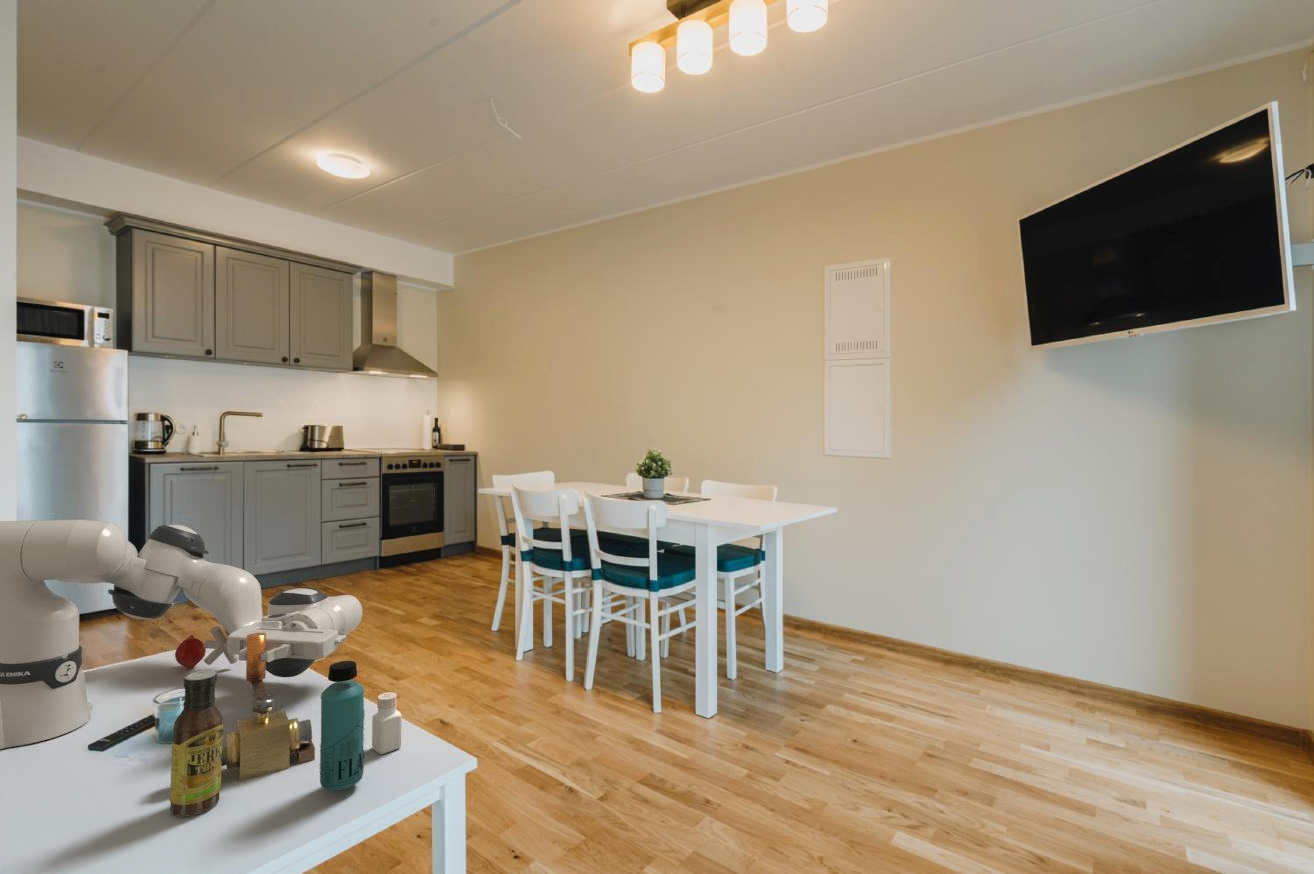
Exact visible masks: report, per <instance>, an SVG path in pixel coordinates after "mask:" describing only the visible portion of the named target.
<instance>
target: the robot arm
mask: <svg viewBox="0 0 1314 874" xmlns="http://www.w3.org/2000/svg"><path fill="white" fill-rule="evenodd" d="M125 535H126V534H125V533H124V532H123V530H122V529H121V528H120V527H119V526H118V525H117V524H115V523H111V522H107V521H106V522H104V521H98V520H92V519H90V520H89V519H48V520H39V519H38V520H0V750H3V749H7V748H12V747H17V746H18V747H19V746H24V745H30V744H34V743H38V742H42V741H45V740H49V739H54V738H56V737H59V736H61V735H64V734H68V733H69V732H72V731H74V730H76V729H78V728H80V727H82V726H83V725H85V724H86V723H87V722H88V721H89V720H90V719H91V715H90V711H91V710H92V709H93V705H92V704H93V703H92V702H91V701H88V693H87V686H86V685H87V684H86V677H85V671H84V670H83V669H82V668H81V666H83V658H84V655H83V654H84V652H83V647H82V646H81V645H80V610H79V608H78V606H77V605H76V604H75V603H74V602H73V601H71V600H70V599H68V598H66V597H64V596H63V597H62V596H60V595H58V594H56V593H54V592H53V591H52V590H51V589H50V588H49V587H48V585H47V583H46V581H52V580H53V581H54V580H56V581H59V582H61V583H62V582H64V583H74V584H75V583H76V584H104V583H105V584H111V585H113V589H111V588H110V589H108V590H107V593H108V594H109V595H111V597H112V599H111V600H112V603H113V604H114V606H115V608H116V609H117V610H118V611H119V612H121V613H123V615H125V616H127V617H128V618H129V617H130V618H132V619H136V620H154V619H155V620H156V619H159V618H162V617H163V616H164V615H165V614H166V613H167V612H168V611H169V609H170V608H171V607H172V605H173V604H172V603H173V601H174V600H175V599H176V597H177V596H178V594H179V592H180V591H181V589H182V591H183V594H184V595H185V597H186V598H187V599H188V600H189V601H190V602H191V603H193V604H194V605H195V606H197V607H198V608H201V609H202V610H204V611H206V612H208V613H210V614H211V615H212V616H213V617H214V618H215V619H216V620H217V621H218V622H219V624H220V625H221V627H222V628H223V630H224V631H225V633H226V635H227V637H228V638H227V637H226V638H227V652H228V654H236V655H237V656H238V661H246V649H247V635H249V634H253V633H266V651H264V652H262V653H261V662H266V672H268V673H269V674H271V675H272V676H274V677H279V678H293V677H296V676H299V675H301V674H303V673H304V672H306V670H308V668H310V667H311V666H312V665H313V664H314V663H315V661H317V660H322V659H325V658H327V657H328V656H330V655H331V654H333V653H334V652H335V651H336V650H337V649H338V648H339V645H340V644H342V643H344V642H346V641H347V640H348V636H347V635H348V634H350V633H351V632H352V631H354V630H355V629H356V628H357V627H358V626H359V624H360V623H361V621H362V619H363V606H362V603H361V602H360V601H359V599H358V598H357V597H356V596H354V595H352V594H341V595H336V596H328V595H327V594H326V593H324V592H322V591H320V590H319V589H317V588H314V587H309V586H296V587H292V588H288V589H284V590H282V591H280V592H278V593H276V595H274V596H273V597H271V599H270V600H269V601H268V606H267V615H266V616H264V615H263V603H262V601H263V599H262V597H263V596H262V589H261V584H260V582H259V581H258V579H257V578H256V577H255V576H254V575H253V574H252V573H250V572H249V571H247V570H244V569H243V568H240V567H236V566H233V565H229V564H223V563H216V562H212V561H211V562H210V561H207V560H205V559H204V558H205V557H204V555H209V554H210V553H209V550H206V545H205V541H204V540H203V538H202V536H201V535H200V534H198V533H197V532H196V531H195V530H193V529H192V528H190V527H188V526H186V525H181V524H167V525H166V524H161V525H158V526H157V527H156V528H155V529H154V530H153V531H152V532H151V533H150V534H149V535H148V540H147V541H146V542H145V544H144V545H143V547H142V548H141V550H139V552H138V551H137V548H136V546H135V545H134V544H133V543H132V542H131V541H129V540H128V539H127V538H126V536H125Z"/></svg>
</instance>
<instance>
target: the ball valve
mask: <svg viewBox="0 0 1314 874" xmlns="http://www.w3.org/2000/svg"><path fill="white" fill-rule="evenodd" d="M312 738H313V730H312V722H311V719H310V718H308V719H305V720H301V721H300V720H299V719H298V717H295V718H290V719H289V718H288V716H287V713H286V710H281V711H275V712H272V713H270V711H267V712H262V713H257V716H254V717H253V716H252V717H248V718H244V719H240V720H237V721H236V731H233V732H229V733H226V734H225V738H224V739H223V742H222V767H224V766H226V770H231V769H234V768H237V774H238V778H239V782H242V781H245V780H248V779H252V778H256V777H260V776H263V775H267V774H270V773H275V772H278V771H282V770H286V769H289V768H290V754H294V755H295V754H296V755H295V756H296V759H297V762H298V764H303V763H307V762H310V760H311V761H314V760H315V758H316V755H315V754H316V747H315V745H314V742H313V741H312V740H313V739H312Z"/></svg>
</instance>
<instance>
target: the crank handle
mask: <svg viewBox="0 0 1314 874" xmlns="http://www.w3.org/2000/svg"><path fill="white" fill-rule="evenodd" d="M264 651H266V633H253V634H249V635H247V649H246V663H245V664H246V668H245V669H246V670H245V671H246V673H245V681H246V682H247V683H248V682H249V688H250V691H251V694H252V697H253V700H252V702H251V704H252V706H251V707H252V709H251V710H252V713H255V714H258V713H262V712H267V711H269V712H270V711H272V710H274V709H275V708H276V707H275V704H276V703H275V702H276V701H275V699H276V698H275V696H273V695H269V694H268V692H267V688H266V685H265V683H264V681H263V680H264V679H266V672H267V670H266V662H261V653H262V652H264Z"/></svg>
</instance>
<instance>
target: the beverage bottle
mask: <svg viewBox="0 0 1314 874" xmlns="http://www.w3.org/2000/svg"><path fill="white" fill-rule="evenodd" d="M357 676H358V668H357V663H356V661H354V660H341V661H337V662H334V663H332V664H330V665H329V668H328V676H327V677H328V678H327V679H328V681H330V682H333V683H331V684H330V685H328V686H327V687H326V688H325V689H324V690H323V691H322V692H321V694H320V701H321V702H320V746H319V747H320V751H319V752H320V754H319V755H320V756H319V759H320V760H319V763H318V764H319V771H318V773H319V783H320V786H321V788H323V789H324V790H327V791H340V790H344V789H349V788H350V787H353V786H355V785H356V784H358V783H359V782H360V781H361V780H362V778H363V775H364V772H365V765H364V759H365V749H364V744H365V737H364V730H365V729H366V728H365V727H364V726H365V714H366V713H365V706H364V705H365V700H364V696H365V694H364V693H365V688H364V686H362V685H361V684H360V683H359V682H357V681H355V680H353V679H356V677H357Z"/></svg>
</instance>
